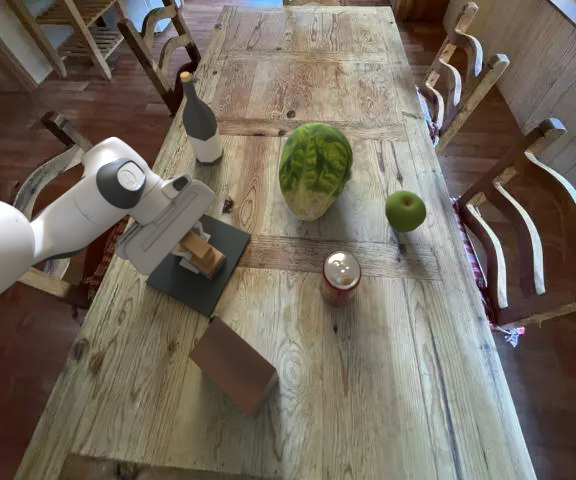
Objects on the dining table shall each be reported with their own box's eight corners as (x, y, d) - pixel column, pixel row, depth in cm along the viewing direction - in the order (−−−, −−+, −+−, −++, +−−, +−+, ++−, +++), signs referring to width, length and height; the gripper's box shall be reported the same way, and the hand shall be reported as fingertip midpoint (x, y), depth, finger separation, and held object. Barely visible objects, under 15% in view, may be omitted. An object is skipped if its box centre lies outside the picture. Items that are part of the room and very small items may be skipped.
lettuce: (254, 210, 76) (325, 201, 66) (269, 120, 89) (330, 101, 79) (301, 231, 87) (368, 226, 77) (308, 148, 100) (366, 135, 90)
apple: (422, 220, 81) (435, 195, 73) (410, 250, 77) (422, 227, 68) (388, 201, 85) (397, 176, 77) (374, 229, 80) (382, 205, 72)
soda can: (316, 302, 70) (318, 283, 61) (324, 266, 75) (327, 244, 66) (351, 314, 68) (358, 296, 60) (357, 277, 73) (364, 255, 65)
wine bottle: (229, 148, 98) (210, 68, 77) (213, 170, 93) (188, 90, 72) (206, 139, 101) (181, 59, 80) (189, 160, 96) (158, 80, 75)
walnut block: (256, 420, 57) (248, 417, 50) (201, 366, 63) (187, 355, 55) (279, 378, 61) (276, 368, 54) (226, 330, 67) (216, 315, 59)
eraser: (210, 280, 72) (202, 268, 67) (175, 251, 77) (164, 237, 71) (227, 259, 75) (220, 245, 70) (191, 232, 80) (182, 217, 74)
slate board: (209, 317, 68) (208, 316, 68) (146, 283, 73) (145, 281, 73) (251, 235, 80) (251, 234, 79) (194, 210, 85) (194, 208, 84)
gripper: (111, 249, 61) (164, 298, 64) (193, 167, 73) (235, 212, 76) (106, 244, 66) (155, 291, 69) (184, 168, 78) (223, 211, 81)
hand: (197, 249), depth 72 cm, fingers closed on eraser, 3 cm apart
